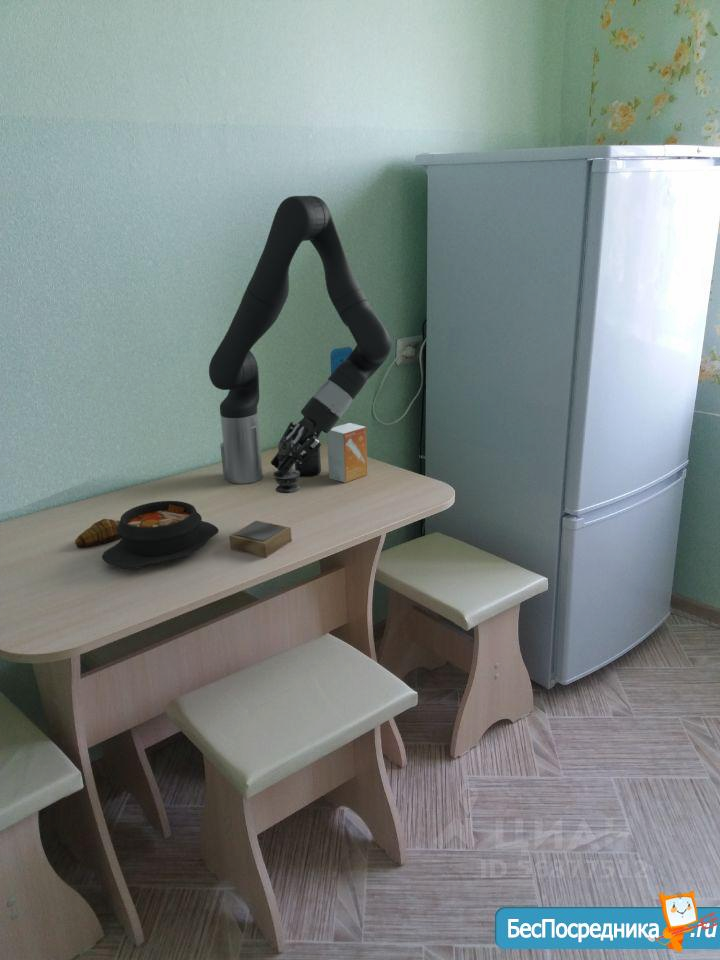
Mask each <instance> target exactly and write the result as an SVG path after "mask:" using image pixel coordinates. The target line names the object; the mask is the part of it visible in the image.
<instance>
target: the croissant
mask: <svg viewBox="0 0 720 960" xmlns="http://www.w3.org/2000/svg"><path fill="white" fill-rule="evenodd" d="M119 523H120V520H115V519H111V518H110V519H108V518H103V519H101V520H98V521H96V522H94V523H93V524H92V525H91V526H90V527H88V528H86V529H85V530H84V531H83V532H81V534H79V535H78V536H77V538H75V542H74V544H75V546H76V548H87V547H93V546H97V545H102V544H105V543H110V542H113V541H116V540H118V539H120V538H121V539H122V536H121V535H119V534H118V533H117V530H116V529H117V526H118V525H119Z"/></svg>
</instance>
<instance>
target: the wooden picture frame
mask: <svg viewBox="0 0 720 960" xmlns="http://www.w3.org/2000/svg"><path fill="white" fill-rule="evenodd" d="M291 528H292V527H289V526H285V525H281V524H275V523H270V522H265V521H260V520H255V521H253V522H251V523H249V524H248V525H246V526H244V527H242V528H241V529H239V530H237V531H235V532H234V533H232V534H230V535H229V536H228V537H229V545H230V546H229V547H230V550H232V551H236V552H240V553H244V554H249V555H253V556H257V557H258V556H259V557H262V558H268V557H270V556H271V555H272V554H274V553H275V552H277V551H278V550H280V549H281V548H283V547H284V546H286V545H288V543H291V542H292V541H293V540H292V539H293V538H292V529H291Z"/></svg>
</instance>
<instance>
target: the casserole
mask: <svg viewBox="0 0 720 960" xmlns="http://www.w3.org/2000/svg"><path fill="white" fill-rule="evenodd" d="M202 518H203V517H202V516H201V514H200V513H199V512H198V511H197V509H196V507H195V506H194V505H193V504H191V503H188V502H185V501H181V500H180V501H178V500H161V501H160V500H159V501H152V502H149V503H144V504H140V505H137V506H135V507H132V508H130V509H128V510H126V511H125V512H124V513H123V514H122V515H121V517H120V520H119V521H120V523H119V525H118V526H117V529H116V530H117V533H118V534H119V535H121V536H122V537H121V539H120V540H119V541H118V542H117V543H116V544H115V545H113V546H112V547H110V548H108V549H107V550H105V551H104V552H103V553H102V555H101V558H102V560H103V562H104V563H106V564H108V565H109V566H113V567H115V568H121V569H138V568H144V567H147V566H151V565H155V564H158V563H163V562H170V561H175V560H178V559H183V558H184V557H187V556H190V555H192V554H194V553H196V552H197V551H199V550H200V549H202V548H203V547H204V546H205V545H206V544H207V543H208V541H210V540H211V539H212V538H213V537H214V536H216V535H217V534H219V528H218V527H217V526H216V525H214V524H212V523H210V522H207V521H203V519H202Z"/></svg>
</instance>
